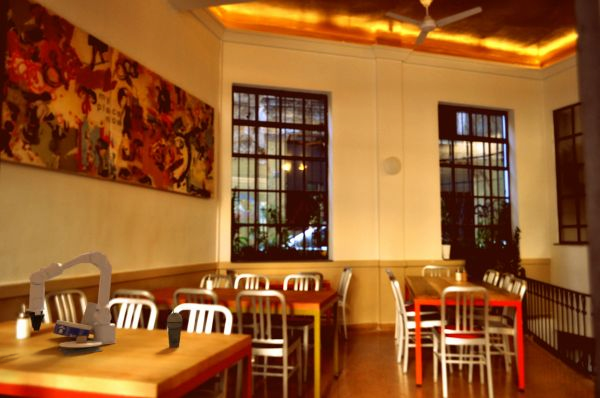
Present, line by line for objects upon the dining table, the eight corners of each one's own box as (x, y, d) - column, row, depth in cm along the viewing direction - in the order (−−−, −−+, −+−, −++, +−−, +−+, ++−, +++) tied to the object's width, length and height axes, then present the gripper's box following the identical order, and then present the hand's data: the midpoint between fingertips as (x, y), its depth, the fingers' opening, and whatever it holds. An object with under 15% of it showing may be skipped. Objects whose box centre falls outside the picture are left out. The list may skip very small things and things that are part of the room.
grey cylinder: (74, 325, 225) (83, 300, 229) (89, 328, 233) (97, 304, 237) (89, 329, 222) (98, 303, 226) (103, 331, 230) (111, 307, 234)
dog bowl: (94, 340, 214) (98, 327, 216) (74, 338, 200) (79, 324, 202) (66, 335, 217) (70, 322, 219) (45, 332, 203) (49, 318, 205)
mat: (94, 345, 212) (94, 343, 212) (102, 352, 200) (102, 350, 200) (58, 350, 203) (58, 348, 203) (64, 358, 191) (64, 355, 191)
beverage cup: (177, 349, 206) (178, 304, 208) (163, 348, 208) (163, 303, 209) (185, 345, 213) (185, 302, 215) (170, 344, 215) (171, 301, 216)
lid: (97, 341, 214) (97, 333, 214) (105, 345, 200) (106, 336, 201) (56, 344, 204) (57, 335, 205) (62, 348, 190) (63, 338, 191)
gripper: (25, 296, 205) (24, 327, 204) (27, 300, 194) (26, 333, 193) (43, 295, 209) (42, 325, 208) (46, 299, 197) (45, 331, 196)
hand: (35, 329), depth 201 cm, fingers open, 7 cm apart
